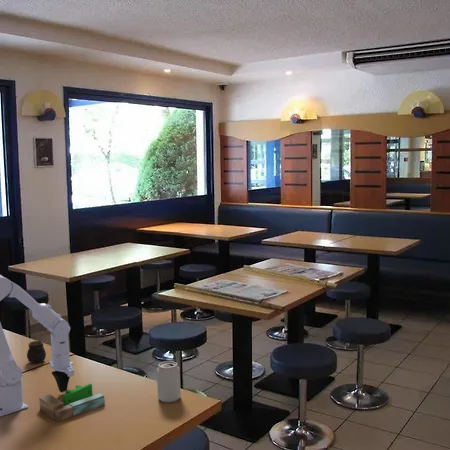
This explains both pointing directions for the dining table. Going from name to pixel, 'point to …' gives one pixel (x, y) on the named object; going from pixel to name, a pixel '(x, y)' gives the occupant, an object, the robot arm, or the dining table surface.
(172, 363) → the can
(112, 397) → the dining table surface
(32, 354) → the mate gourd
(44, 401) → the brown wooden block
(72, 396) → the pipe clamp
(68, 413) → the rail
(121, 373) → the dining table surface
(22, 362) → the dining table surface
